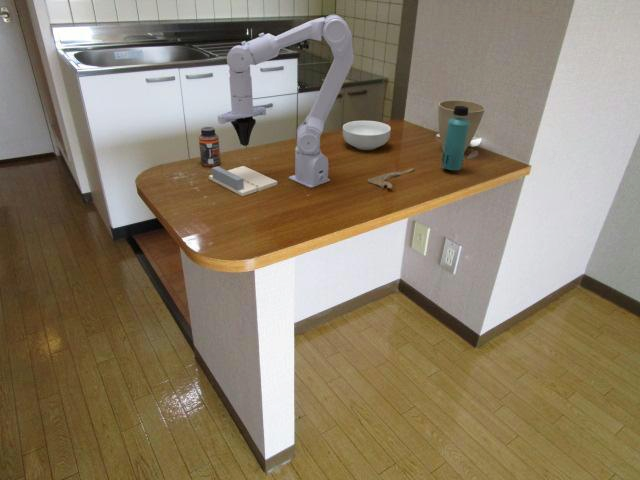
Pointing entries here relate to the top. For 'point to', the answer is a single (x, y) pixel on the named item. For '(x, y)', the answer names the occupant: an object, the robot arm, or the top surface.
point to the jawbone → (380, 179)
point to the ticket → (254, 178)
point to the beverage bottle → (456, 140)
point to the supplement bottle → (209, 147)
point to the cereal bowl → (366, 134)
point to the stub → (231, 181)
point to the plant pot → (447, 113)
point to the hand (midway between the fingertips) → (244, 144)
